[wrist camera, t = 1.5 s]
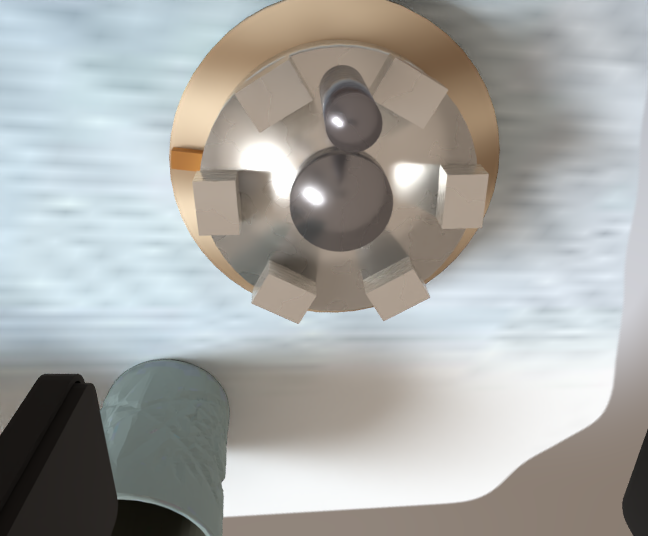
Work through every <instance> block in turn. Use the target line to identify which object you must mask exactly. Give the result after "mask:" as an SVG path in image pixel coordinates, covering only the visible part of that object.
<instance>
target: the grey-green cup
mask: <svg viewBox="0 0 648 536" xmlns="http://www.w3.org/2000/svg"><path fill="white" fill-rule="evenodd" d="M229 413H230V411H229V404H228V399H227V396H226V394H225V392H224V390H223V388H222V387H221V385H220V384H219V383H218V381H217V380H216V379H215V378H214V377H213V376H212V375H210V374H209V373H207V372H206V371H204V370H203V369H201V368H199V367H197V366H194V365H192V364H189V363H186V362H182V361H177V360H167V359H162V360H153V361H148V362H144V363H141V364H138V365H136V366H134V367H132V368H130V369H128V370H127V371H125V372H124V373H123V374H122V375H121V376H120V377H119V378H118V379H117V380H116V381H115V382H114V384H113V386H112V387H111V389H110V391H109V393H108V394H107V396H106V398H105V400H104V403H103V408H102V409H101V410H100V414H101V419H102V424H103V429H104V434H105V439H106V444H107V449H108V454H109V459H110V464H111V469H112V474H113V479H114V484H115V488H116V493H117V499H118V511H117V517H116V521H115V525H114V528H113V530H112V533H111V536H222V520H223V498H224V496H223V489H222V484H221V483H222V481H223V480H224V478H225V474H226V444H227V433H228V425H229Z"/></svg>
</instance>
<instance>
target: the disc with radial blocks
mask: <svg viewBox="0 0 648 536" xmlns="http://www.w3.org/2000/svg"><path fill="white" fill-rule="evenodd" d="M447 91H448V89H447V88H446V87H445V86H444V85H443V84H442V83H440V82H439V81H437V80H435V79H434V78H432V77H430V76H429V75H427V74H426V73H425V72H424V71H423V70H422V69H421V68H420V67H418V66H417V65H415V64H414V63H413V62H411V61H410V60H408V59H407V58H405V57H403V56H401V55H399V54H397V53H395V52H394V51H392V50H389V49H386V48H384V47H381V46H378V45H375V44H371V43H366V42H361V41H356V40H340V39H334V40H322V41H315V42H311V43H306V44H302V45H298V46H296V47H293V48H290V49H288V50H285V51H282V52H280V53H279V54H277V55H275V56H273V57H271V58H269V59H268V60H266V61H264V62H263V63H262V64H260V65H259V66H258V67H256V68H255V69H254V70H252V71H251V72H250V73H249V74H248V75H247V76H246V77H245V78H244V79H243V80H242V81H241V82H240V83H239V84H238V85H237V86H236V87H235V89H234V90H233V91H232V93H231V94H230V95H229V97H228V98H227V99H226V101H225V103H224V105H223V106H222V108H221V110H220V112H219V113H218V116H217V118H216V120H215V122H214V124H213V126H212V129H211V131H210V134H209V136H208V139H207V141H206V144H205V147H204V151H203V156H202V160H201V166H200V171H197V172H196V174H195V176H194V178H193V181H192V185H193V193H194V201H195V209H196V217H197V225H198V233H199V236H210V235H211V237H212V239H213V241H214V243H215V245H216V246H217V248H218V249H219V251H220V252H221V254H222V255H223V257H224V258H225V260H226V261H227V262H228V263H229V264H230V265H231V266H232V268H233V269H234V270H235V271H236V272H237V273H238V274H239V275H241V276H242V277H243V278H244V279H245V280H246V281H247V282H249V283H250V284H251V285H253V286H254V288H253V293H252V301H251V303H252V304H254V305H256V306H259V307H261V308H263V309H266V310H268V311H270V312H272V313H275V314H277V315H279V316H281V317H284V318H286V319H288V320H291V321H293V322H295V323H297V324H299V322H300V321H301V319H302V318H303V316H304V315H305V313H306V312H307V310H308V309H313V310H320V311H348V310H357V309H362V308H367V307H372V306H374V307H375V309H376V310H377V312H378V313H379V315H380V317H381V318H382V320H383V321H385V320H387V319H389V318H391V317H393V316H395V315H397V314H399V313H401V312H403V311H405V310H407V309H409V308H411V307H413V306H415V305H417V304H419V303H421V302H423V301H424V300H426V299H428V298H430V295H429V293H428V290H427V288H426V285H425V283H424V281H425V280H426V279H427V278H429V277H430V276H431V275H432V274H433V273H434V272H435V271H436V270H437V269H438V268H439V267H440V266H441V265H442V264H443V263H444V262H445V261H446V260H447V258H448V257H449V256H450V255H451V253H452V252H453V251H454V249H455V248H456V246H457V244H458V243H459V241H460V240H461V238H462V236H463V234H464V232H465V230H466V228H482V224H483V216H484V208H485V200H486V192H487V185H488V177H489V174H488V173H487V171H486V170H485V169H484V168H483V167H482V166H481V164H477V158H476V153H475V148H474V144H473V140H472V137H471V134H470V132H469V129H468V127H467V124H466V122H465V120H464V118H463V117H462V115H461V113H460V111H459V110H458V108H457V106H456V105H455V104H454V102H453V101H452V100H451V98H450V97H449V96H448V95H447Z"/></svg>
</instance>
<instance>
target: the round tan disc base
mask: <svg viewBox="0 0 648 536" xmlns="http://www.w3.org/2000/svg"><path fill="white" fill-rule="evenodd" d="M334 39H340V40H356V41H361V42H366V43H371V44H375V45H378V46H381V47H384V48H386V49H389V50H392V51H394V52H395V53H397V54H399V55H401V56H403V57H405V58H407V59H408V60H410V61H411V62H413V63H414V64H415V65H417V66H418V67H420V68H421V69H422V70H423V71H424V72H425V73H426V74H427V75H429V76H430V77H432V78H434V79H435V80H437V81H439V82H440V83H442V84H443V85H444V86H445V87H446V88H447V89H448V91H447V95H448V96H449V97H450V98H451V100H452V101H453V102H454V104H455V105H456V106H457V108H458V110H459V111H460V113H461V115H462V117H463V118H464V120H465V122H466V124H467V127H468V129H469V132H470V134H471V137H472V140H473V144H474V148H475V153H476V158H477V164H481V166H482V167H483V168H484V169H485V170H486V171H487V173H488V174H489V177H488V185H487V192H486V200H485V208H484V216H485V213H486V211H487V209H488V207H489V204H490V201H491V198H492V195H493V192H494V188H495V183H496V178H497V173H498V165H499V150H500V149H499V134H498V126H497V121H496V116H495V111H494V107H493V104H492V102H491V99H490V96H489V93H488V91H487V88H486V86H485V84H484V82H483V80H482V78H481V76H480V75H479V73H478V71H477V69H476V67H475V66H474V65H473V63H472V62H471V61H470V59H469V58H468V57H467V55H466V54H465V52H464V51H463V50H462V49H461V48H460V47H459V46H458V45H457V44H456V43H455V42H454V41H453V40H452V39H451V38H450V37H449V36H448V35H447V34H446V33H445V32H444V31H442V30H441V29H440V28H438V27H437V26H436V25H434V24H433V23H432V22H430V21H429V20H427V19H426V18H424V17H422V16H420V15H418V14H416V13H415V12H413V11H411V10H409V9H407V8H405V7H403V6H402V5H399V4H397V3H394V2H391V1H388V0H282V1H280V2H277V3H275V4H272V5H270V6H267V7H265V8H263V9H261V10H260V11H258V12H256V13H254V14H253V15H251V16H249V17H247V18H246V19H244V20H243V21H242V22H240V23H239V24H238V25H237V26H235V27H234V28H233V29H231V30H230V31H229V32H228V33H227V34H226V35H225V36H224V37H223V38H222V39H221V40H220V41H219V42H218V43H217V44H216V45H215V46H214V47H213V48H212V49H211V50H210V52H209V53H208V54H207V55H206V57H205V58H204V60H203V61H202V62H201V64H200V65H199V66H198V68H197V69H196V71H195V72H194V73H193V75H192V77H191V79H190V81H189V83H188V85H187V86H186V88H185V90H184V92H183V94H182V97H181V100H180V103H179V105H178V108H177V111H176V114H175V118H174V123H173V127H172V132H171V139H170V154H169V160H170V174H171V182H172V186H173V191H174V196H175V200H176V202H177V205H178V208H179V211H180V214H181V217H182V219H183V221H184V223H185V225H186V227H187V229H188V230H189V232H190V234H191V236H192V237H193V239H194V240H195V242H196V243H197V245H198V246H199V248H200V249H201V251H202V252H203V253H204V254H205V255H206V256H207V257H208V259H209V260H210V261H211V262H212V263H213V264H214V265H215V266H216V267H217V268H218V269H219V270H220V271H221V272H223V273H224V274H225V275H226V276H227V277H228V278H229V279H231V280H232V281H234V282H235V283H237V284H238V285H240V286H241V287H243V288H244V289H246V290H248V291H250V292H252V293H253V288H254V286H253V285H251V284H250V283H249V282H247V281H246V280H245V279H244V278H243V277H242V276H241V275H239V274H238V273H237V272H236V271H235V270H234V269H233V268H232V266H231V265H230V264H229V263H228V262H227V261H226V260H225V258H224V257H223V255H222V254H221V252H220V251H219V249H218V248H217V246H216V245H215V243H214V241H213V239H212V237H211V235H210V236H199V233H198V225H197V217H196V209H195V201H194V193H193V185H192V181H193V178H194V176H195V174H196V172H197V171H200V166H201V160H202V156H203V151H204V147H205V144H206V141H207V139H208V136H209V134H210V131H211V129H212V126H213V124H214V122H215V120H216V118H217V116H218V113H219V112H220V110H221V108H222V106H223V105H224V103H225V101H226V99H227V98H228V97H229V95H230V94H231V93H232V91H233V90H234V89H235V87H236V86H237V85H238V84H239V83H240V82H241V81H242V80H243V79H244V78H245V77H246V76H247V75H248V74H249V73H250V72H251V71H252V70H254V69H255V68H256V67H258V66H259V65H260V64H262V63H263V62H264V61H266V60H268V59H269V58H271V57H273V56H275V55H277V54H279V53H280V52H282V51H285V50H288V49H290V48H293V47H296V46H298V45H302V44H306V43H311V42H315V41H322V40H334ZM484 216H483V218H484ZM477 229H478V228H466V230H465V232H464V234H463V236H462V238H461V240H460V241H459V243H458V244H457V246H456V248H455V249H454V251H453V252H452V253H451V255H450V256H449V257H448V258H447V260H446V261H445V262H444V263H443V264H442V265H441V266H440V267H439V268H438V269H437V270H436V271H435V272H434V273H433V274H432V275H431V276H430V277H429V278H427V279H426V280H425V281H424V283H425V284H426V283H428V282H429V281H430V280H432V279H433V278H434V277H436V276H437V275H438V274H440V273H441V272H442V271H443V270H444V269H445V268H446V267H447V266H448V265H449V264H450V263H452V262H453V261H454V260H455V259H456V258H457V256H458V255H459V254H460V253H461V252H462V250H463V249H464V248H465V247H466V246H467V244H468V243H469V241H470V240H471V238H472V237H473V235H474V234H475V232H476V231H477ZM372 307H374V306H372ZM367 308H371V307H367ZM362 309H366V308H362ZM357 310H361V309H357ZM307 311H314V312H346V311H320V310H313V309H308V310H307ZM348 311H356V310H348Z"/></svg>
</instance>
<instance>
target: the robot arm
mask: <svg viewBox="0 0 648 536" xmlns="http://www.w3.org/2000/svg"><path fill="white" fill-rule="evenodd" d="M622 509H623V515H624V518H625V521H626V523H627V525H628V527H629V529H630V530H631V532H632V534H633V536H648V430H647V433H646V436H645V439H644V441H643V444H642V447H641V450H640V453H639V455H638V458H637V461H636V464H635V467H634V470H633V472H632V476H631V478H630V481H629V484H628V487H627V489H626V492H625V495H624V498H623V503H622ZM117 511H118V499H117V493H116V488H115V484H114V479H113V474H112V469H111V464H110V459H109V454H108V449H107V444H106V439H105V434H104V429H103V424H102V419H101V414H100V409H99V404H98V399H97V394H96V390H95V386H94V385H93V384H91V383H85V382H84V379H83V377H82V376H81V375H79V374H44V375H41V376H40V377H39V378H38V380H37V381H36V383H35V384H34V386H33V387H32V389H31V390H30V392H29V393H28V395H27V396H26V398H25V399H24V401H23V402H22V404H21V405H20V407H19V408H18V410H17V411H16V413H15V414H14V416H13V417H12V419H11V420H10V422H9V423H8V425H7V426H6V428H5V429H4V431H3V432H2V434H1V435H0V536H111V533H112V530H113V528H114V525H115V521H116V517H117Z"/></svg>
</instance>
